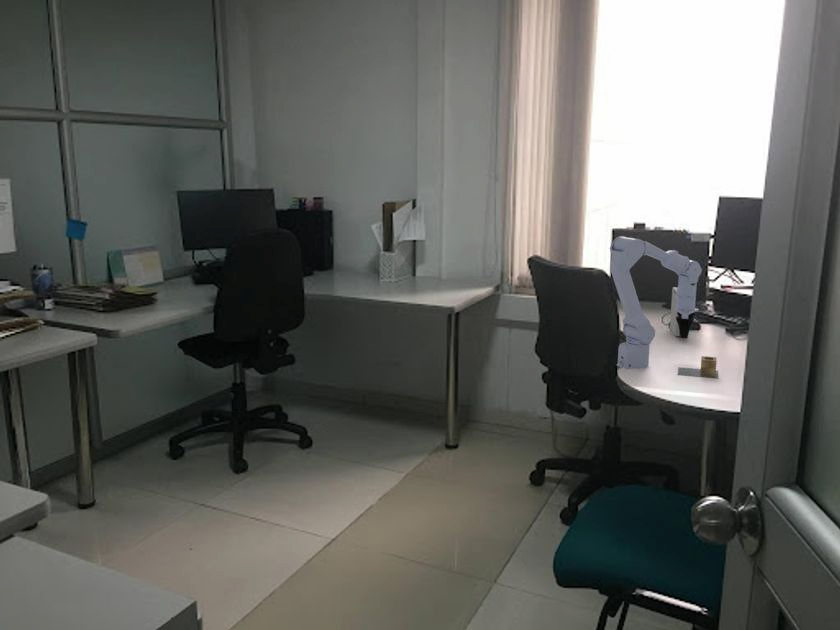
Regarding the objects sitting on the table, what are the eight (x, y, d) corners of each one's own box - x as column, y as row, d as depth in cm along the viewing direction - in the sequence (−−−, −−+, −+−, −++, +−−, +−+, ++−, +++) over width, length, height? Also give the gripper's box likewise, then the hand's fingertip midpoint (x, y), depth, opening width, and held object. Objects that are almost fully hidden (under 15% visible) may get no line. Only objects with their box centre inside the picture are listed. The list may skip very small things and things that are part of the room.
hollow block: (700, 374, 225) (701, 359, 224) (700, 371, 229) (701, 356, 228) (715, 376, 223) (716, 360, 222) (715, 372, 227) (716, 357, 226)
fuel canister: (690, 338, 272) (694, 274, 267) (676, 338, 273) (680, 274, 268) (682, 329, 287) (686, 268, 282) (669, 329, 288) (673, 267, 282)
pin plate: (677, 378, 225) (677, 375, 225) (678, 370, 233) (678, 367, 233) (718, 381, 221) (718, 378, 221) (717, 373, 229) (718, 370, 229)
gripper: (699, 300, 229) (696, 341, 232) (699, 292, 242) (697, 331, 245) (676, 299, 232) (673, 339, 235) (677, 291, 245) (675, 329, 248)
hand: (684, 335), depth 240 cm, fingers open, 7 cm apart
